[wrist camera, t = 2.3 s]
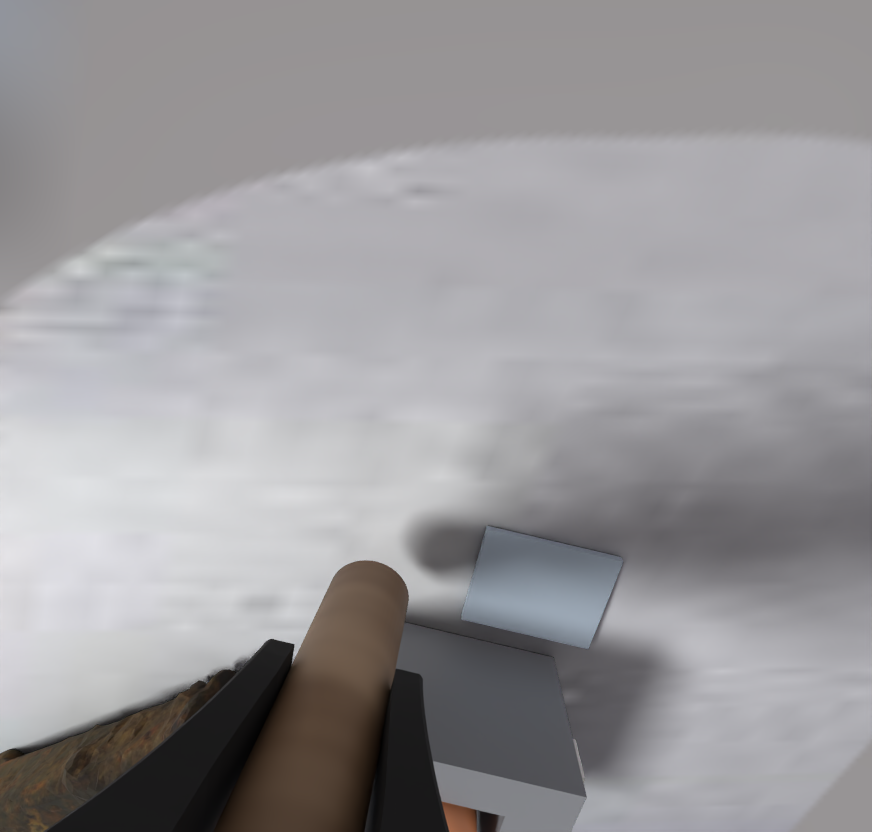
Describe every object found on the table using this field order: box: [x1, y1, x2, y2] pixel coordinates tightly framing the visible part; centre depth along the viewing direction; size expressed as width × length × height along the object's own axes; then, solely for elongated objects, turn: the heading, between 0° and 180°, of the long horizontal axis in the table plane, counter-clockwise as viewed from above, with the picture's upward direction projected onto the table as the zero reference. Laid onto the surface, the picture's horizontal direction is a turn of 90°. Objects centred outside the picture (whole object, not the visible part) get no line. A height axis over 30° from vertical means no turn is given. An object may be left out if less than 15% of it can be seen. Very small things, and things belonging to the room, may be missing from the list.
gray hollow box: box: [395, 622, 587, 832], centre depth 16 cm, size 7×8×5 cm
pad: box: [461, 526, 623, 649], centre depth 16 cm, size 4×5×1 cm
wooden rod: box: [213, 560, 409, 832], centre depth 10 cm, size 3×3×9 cm
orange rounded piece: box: [442, 802, 477, 832], centre depth 14 cm, size 3×3×2 cm
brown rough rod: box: [0, 670, 236, 832], centre depth 18 cm, size 19×4×5 cm, turn 113°
